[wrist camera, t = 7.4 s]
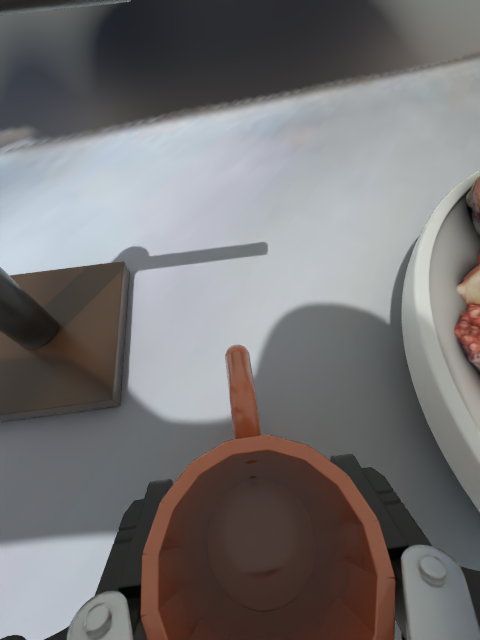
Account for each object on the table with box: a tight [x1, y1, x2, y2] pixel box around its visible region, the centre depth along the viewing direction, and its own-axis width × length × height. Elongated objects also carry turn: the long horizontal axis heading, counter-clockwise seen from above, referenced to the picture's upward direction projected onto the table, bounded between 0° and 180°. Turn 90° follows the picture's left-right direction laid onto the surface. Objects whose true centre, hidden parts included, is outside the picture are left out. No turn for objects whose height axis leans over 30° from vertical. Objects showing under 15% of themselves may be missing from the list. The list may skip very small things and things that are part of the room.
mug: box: [140, 345, 396, 640], centre depth 12 cm, size 9×6×9 cm, turn 7°
